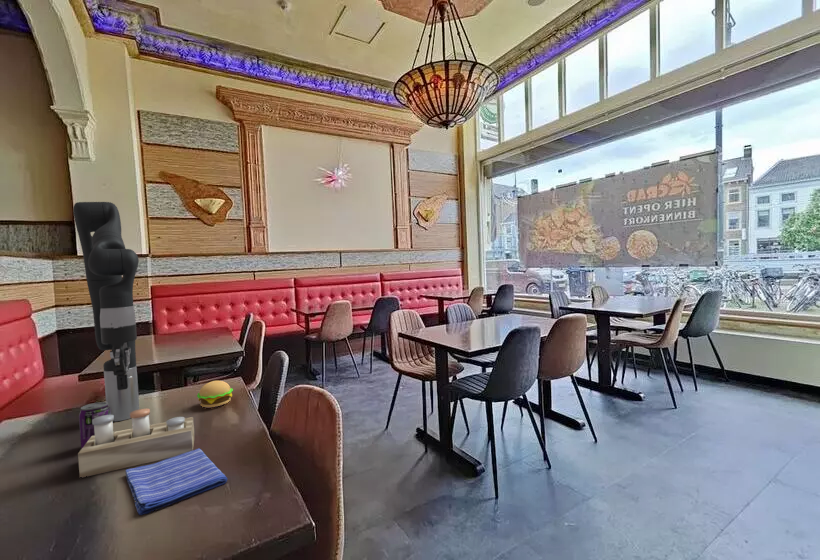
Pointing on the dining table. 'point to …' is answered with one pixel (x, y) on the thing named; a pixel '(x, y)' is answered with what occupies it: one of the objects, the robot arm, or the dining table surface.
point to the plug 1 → (103, 429)
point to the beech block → (135, 448)
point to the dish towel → (173, 480)
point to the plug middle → (140, 422)
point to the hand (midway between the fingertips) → (123, 388)
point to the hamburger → (215, 394)
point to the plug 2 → (175, 423)
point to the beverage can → (88, 415)
